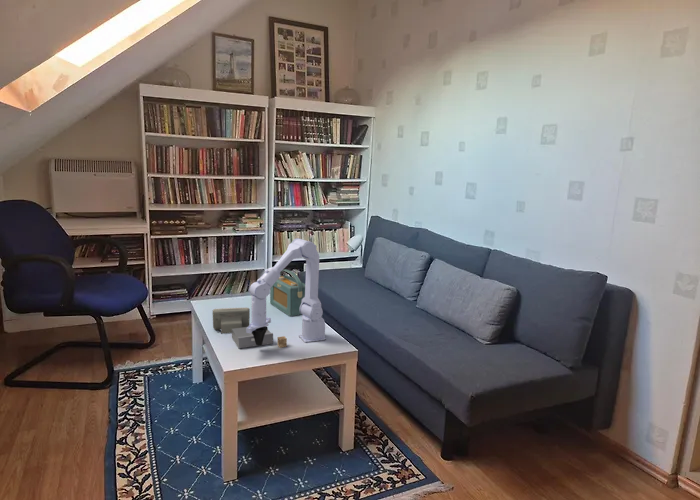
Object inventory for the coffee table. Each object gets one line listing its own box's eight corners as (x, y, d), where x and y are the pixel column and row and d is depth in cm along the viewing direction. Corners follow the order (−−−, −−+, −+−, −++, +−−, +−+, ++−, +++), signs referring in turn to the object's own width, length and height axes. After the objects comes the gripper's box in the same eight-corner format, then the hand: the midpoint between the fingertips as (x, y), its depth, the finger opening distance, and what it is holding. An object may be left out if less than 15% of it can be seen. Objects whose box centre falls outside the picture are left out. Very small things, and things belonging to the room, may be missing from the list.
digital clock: (251, 327, 215) (250, 304, 213) (247, 334, 206) (247, 311, 204) (215, 326, 214) (214, 304, 212) (210, 333, 206) (209, 310, 204)
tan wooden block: (284, 344, 196) (284, 336, 196) (286, 346, 194) (286, 338, 193) (277, 345, 195) (277, 337, 194) (279, 347, 192) (279, 339, 192)
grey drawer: (264, 333, 207) (264, 324, 206) (273, 343, 196) (273, 333, 195) (231, 338, 200) (231, 328, 200) (238, 348, 190) (238, 338, 189)
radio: (268, 303, 251) (268, 267, 248) (287, 301, 257) (287, 265, 254) (289, 317, 230) (290, 277, 227) (309, 314, 236) (310, 275, 232)
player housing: (263, 333, 208) (263, 324, 207) (271, 343, 197) (271, 334, 196) (231, 337, 201) (231, 328, 201) (238, 347, 191) (238, 338, 190)
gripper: (257, 319, 178) (257, 352, 181) (277, 308, 191) (277, 340, 194) (241, 316, 181) (241, 349, 183) (262, 306, 194) (262, 337, 196)
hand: (258, 344), depth 189 cm, fingers closed
